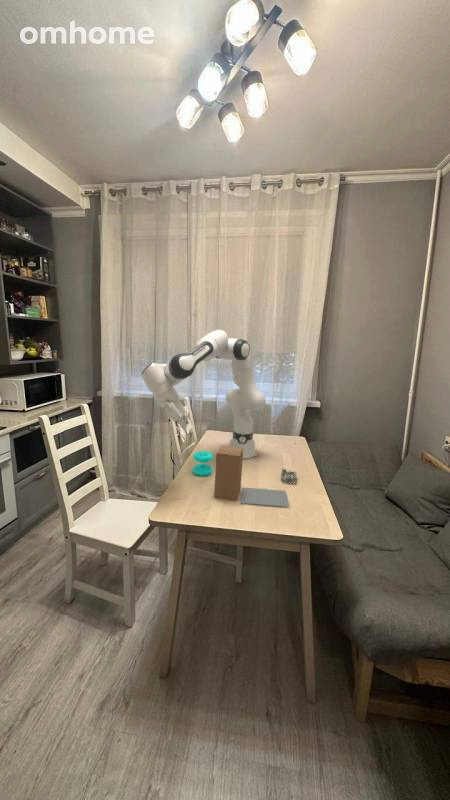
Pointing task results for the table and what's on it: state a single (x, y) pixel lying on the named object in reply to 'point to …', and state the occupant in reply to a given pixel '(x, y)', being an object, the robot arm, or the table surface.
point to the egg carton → (288, 478)
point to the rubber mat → (264, 497)
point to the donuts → (203, 458)
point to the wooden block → (228, 472)
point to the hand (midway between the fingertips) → (186, 426)
